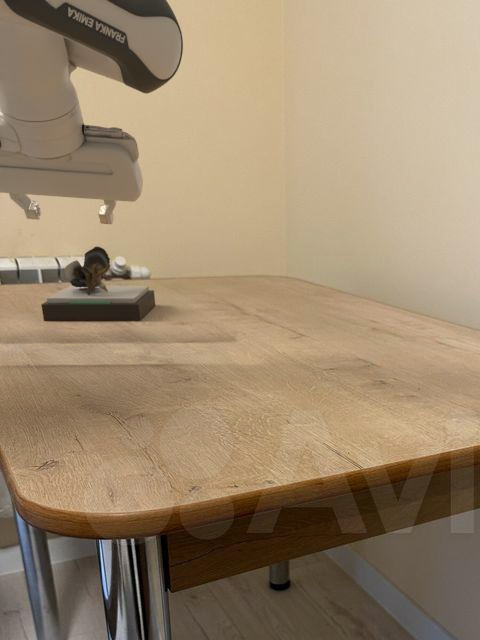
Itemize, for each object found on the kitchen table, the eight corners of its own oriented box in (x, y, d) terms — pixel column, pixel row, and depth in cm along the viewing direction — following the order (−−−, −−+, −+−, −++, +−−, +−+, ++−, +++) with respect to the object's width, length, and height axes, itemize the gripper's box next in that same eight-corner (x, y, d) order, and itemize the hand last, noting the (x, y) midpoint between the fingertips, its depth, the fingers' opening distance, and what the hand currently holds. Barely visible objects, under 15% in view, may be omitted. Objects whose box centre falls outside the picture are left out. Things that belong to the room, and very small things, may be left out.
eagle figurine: (127, 286, 108) (122, 268, 115) (96, 247, 104) (92, 231, 111) (87, 314, 108) (83, 294, 115) (53, 277, 104) (52, 258, 111)
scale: (43, 320, 105) (40, 298, 104) (69, 304, 118) (66, 285, 116) (140, 320, 106) (137, 298, 105) (155, 304, 119) (153, 285, 118)
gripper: (137, 114, 86) (152, 208, 98) (-40, 99, 84) (-3, 197, 95) (131, 146, 83) (147, 239, 95) (-54, 131, 80) (-13, 229, 92)
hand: (71, 218), depth 95 cm, fingers open, 8 cm apart
